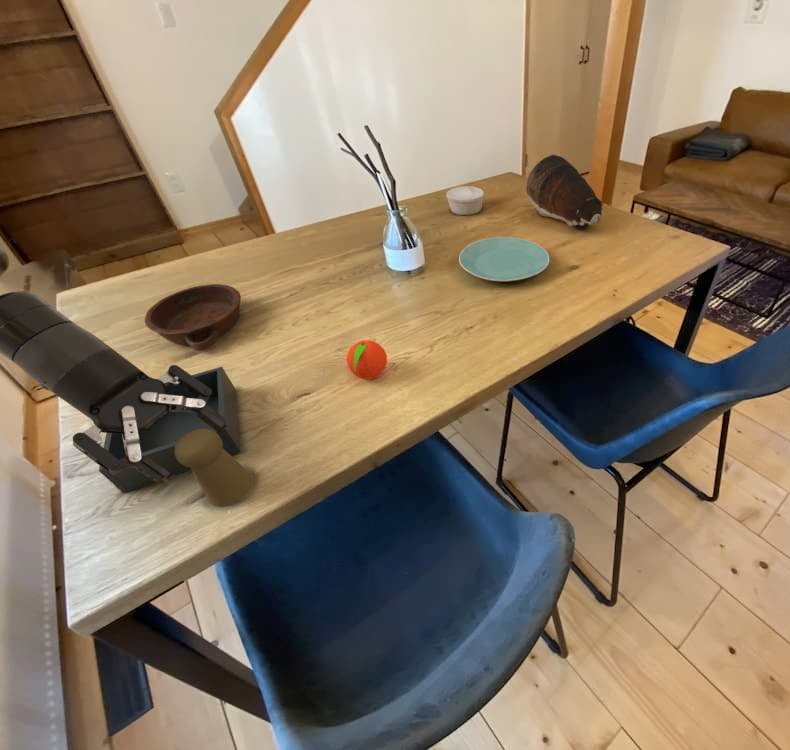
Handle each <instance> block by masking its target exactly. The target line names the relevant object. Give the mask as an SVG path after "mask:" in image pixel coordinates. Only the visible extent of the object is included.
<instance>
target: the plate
mask: <svg viewBox="0 0 790 750" xmlns="http://www.w3.org/2000/svg"><path fill="white" fill-rule="evenodd" d="M458 262H459V263H458V264H459V265H460V267H461V268H462V269H463V270H464V271H465V272H467V273H468V274H470V275H472V276H474V277H476V278H479V279H483V280H484V281H485V280H486V281H489V282H502V283H503V282H505V283H506V282H516V281H521V280H526V279H529V278H532V277H535V276H536V275H539V274H540V273H542V272H543V271H545V270H546V269H547V267H549V264H550V254H549V253H548V251H547V250H546V249H545V248H544V247H542V245H540V244H538V243H536V242H533V241H531V240H528V239H524V238H520V237H519V238H518V237H509V236H507V237H506V236H496V237H495V236H494V237H488V238H482V239H479V240H477V241H474V242H471V243H470V244H468V245H466V247H464V248H463V249H462V251H461V252H460V253H459V255H458Z"/></svg>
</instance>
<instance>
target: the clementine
mask: <svg viewBox="0 0 790 750" xmlns="http://www.w3.org/2000/svg"><path fill="white" fill-rule="evenodd" d="M346 354H347V355H346V365H347V367H348V369H349V371H350V373H352V375H354V376H355V377H357V378H359V379H363V380H373V379H375V378H377V377H379V376H380V375H382V374H383V373H384V371H385V370H386V368H387V364H388V355H387V353H386V350H385V349H384V348H383V346H382V345H381V344H379V343H378V342H376V341H373V340H371V339H370V340H368V339H367V340H360V341H358V342H356V343H354V344H352V346H351V347H350V348H349V350H348V352H347V353H346Z"/></svg>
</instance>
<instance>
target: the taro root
mask: <svg viewBox="0 0 790 750" xmlns="http://www.w3.org/2000/svg"><path fill="white" fill-rule="evenodd" d="M526 179H527V180H526V187H525V188H526V191H525V192H526V197H527V200H528V201H529V202H530V203H531V205H532V206H533V207H534V208H535V209H536V211H537V212H538V213H539V214H540V216H543V217H547V218H552V219H556V220H557V221H558V220H559V221H561V222H565V223H566V224H567V225H568V227H573V226H577V225H578V226H587V225H590V226H595V225H597V224H599V223H600V221H601V219H602V210H603V205H604V203H605V202H604V201H602V200H600V199H599V198H598V197H597V195H596V192H595V190H594V189H593V188H592V186H591V185H589V183H588V181H587V180H586V178H584V177H583V175H581V174H580V173H579V170H577V168H575V166H573V164H572V163H570V162H569V161H568V160H567V159H565V158H564V157H562V156H560V155H557V154H549V155H547V156H546V157H543V158H542V159H540V160H539V161H538V162H536V163H535V165H534V166H533V167H532V168H531V170H530V172H529V174H528V176H527V178H526Z"/></svg>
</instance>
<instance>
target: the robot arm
mask: <svg viewBox="0 0 790 750" xmlns="http://www.w3.org/2000/svg"><path fill="white" fill-rule="evenodd" d="M9 269H10V259H9V256H8V254H7V252H6V250H5V249H4V248H3V247H2V246H1V245H0V278H2V276H4V275H5V274H6V273H7V272H8V270H9ZM0 354H1V355H2V356H3V357H5V358H6V359H8V360H9V361H11V362H12V363H14V364H15V365H17V366H18V367H19V368H20V369H21V370H22V371H23V372H24V373H25V374H27V376H29V377H30V378H31V379H32V380H34V381H35V382H37V383H38V384H39V385H40V386H41V387H42V388H43V389H45V390H46V391H49V392H51V393H53V394H54V395H56V396H57V397H58V398H60V399H61V400H62V401H64V402H66V403H67V404H68V405H70V406H71V407H73V408H74V409H75V410H77V411H79V412H80V413H81V414H83V415H84V416H86V417H87V418H89V419H90V420H91V421H92V423H93V424H94V425H92V426H91V427H89V428H88V429H86V430H85V431H83V432H75V434H74V435H73V436H72V445H73V447H75V449H77V450H78V451H80V452H81V453H83V455H85V456H86V457H88V458H89V459H90V460H91V461H93V462H94V463H95V464H97V465H98V466H99V467H100V466H101V467H102V468H103V469H105V470H106V471H107V472H109V473H110V474H112V475H116V474H118V473H120V472H121V471H124V470H126V469H128V468H135V469H137V470H138V471H140V472H141V473H143V474H144V475H146V476H147V477H149V478H150V479H152V480H153V481H156V482H155V483H160V482H161V481H164V482H165V483H168V481H169V480H170V479H171V478H173V475H172V474H171V473H170V472H169V471H167V470H166V469H164V468H163V467H162V466H160V465H159V464H157V463H156V462H154V461H153V460H151V459H150V458H149V457H147V456H146V457H145V458H144V457H143V456H142V455H141V449H140V443H139V434H143V433H146V432H147V431H149V430H150V429H151V428H152V426H153V425H154V424H155V423H157V422H159V421H161V420H162V419H164V418H165V417H166V416H167V414H168V412H192V413H197V414H198V415H197V417H199V418H200V419H201V420H203V421H204V422H205V423H207V424H208V425H209V426H211V427H212V428H213V429H215V430H216V431H217V432H219V433H221V432H222V431H223V430H224V429H225V428H226V425H225V424H224V423H225V419H224V418H223V417H222V416H221V415H220V414H218V413H217V412H216V411H214V410H213V409H212V408H210V407H209V406H208V404H207V401H208V399H209V397H210V395H211V394H212V390H211V389H210V388H209V387H208V386H206V385H205V384H203V383H202V382H200V381H199V380H197V379H196V378H195V377H193V376H192V375H193V374H190V373H189V372H188V371H186V370H184V369H183V368H182V367H180V366H179V365H176V364H171V365H170V366H169V367H168V369H167V371H166V372H165V373H164V374H162V375H161V376H160V377H159V378H155V377H151V376H149V375H147V374H146V373H145V372H144V371H143V370H141V369H140V368H139V367H138V366H136V365H135V364H133V363H132V362H130V361H129V360H128V359H126V358H125V357H124V356H122V354H120V353H118V352H117V351H116V350H115V349H114V348H112V347H111V346H110V345H108V344H107V343H106V342H104V341H103V340H101V339H100V338H99V337H97V336H96V335H95V334H93V333H92V332H90V331H88V330H87V329H85V328H82V327H81V326H79V325H78V324H77V323H75V322H73V321H72V320H71V319H69V318H68V317H67V316H66V315H64V314H63V313H62V312H61V311H59V310H58V309H56V308H55V307H53V306H52V305H51V304H50V303H49V302H47V301H46V300H44V299H43V298H41V296H38V295H37V294H35V293H32V292H29V291H25V290H16V291H11V292H5V293H3V294H0ZM167 384H169V385H172V386H178V385H179V386H180V387H182V388H183V389H185V390H186V391H188V392H189V393H191V394H192V395H194V396H195V397H197V399H194V398H186V397H184V396H177V395H167V392H166V387H165V385H167ZM101 433H105V434H106V433H117V434H122V436H123V442H124V448H125V452H126V457H124V458H121V459H119V460H118V459H117V458H116V457H115V456H113V455H112V454H111V453H109V452H108V451H107V450H106V449H104V448H103V447H104V446H102V445H101V444H102V442H103V438H102V437H101V435H100V434H101Z"/></svg>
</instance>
